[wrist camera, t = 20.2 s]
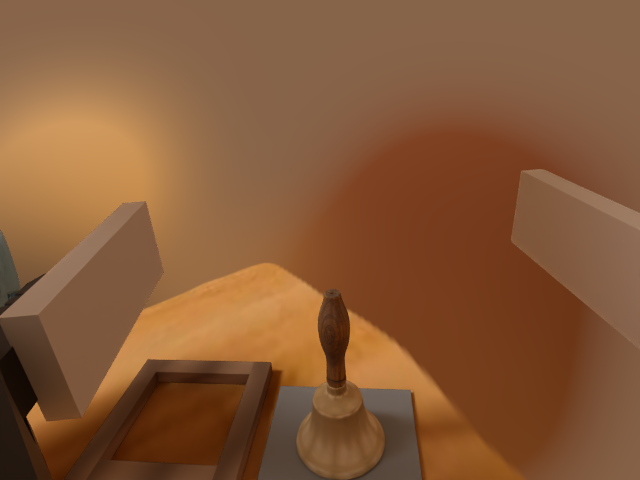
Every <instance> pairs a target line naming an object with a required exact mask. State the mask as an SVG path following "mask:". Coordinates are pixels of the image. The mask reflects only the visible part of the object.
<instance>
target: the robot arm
mask: <svg viewBox="0 0 640 480" xmlns="http://www.w3.org/2000/svg"><path fill="white" fill-rule="evenodd" d="M511 242H512V243H514V244H515V245H516V246H518V248H520V249H521V250H522V251H523V252H524V253H526V254H527V255H528V256H529V257H530V258H532V259H533V260H534V261H535V262H536V263H538V264H539V265H540V266H541V267H542V268H544V269H545V270H546V271H547V272H548V273H549V274H551V275H552V276H553V277H554V278H555V279H556V280H558V281H559V282H560V283H561V284H562V285H564V286H565V287H566V288H567V289H568V290H570V291H571V292H572V293H573V294H574V295H576V296H577V297H578V298H579V299H580V300H582V301H583V302H584V303H585V304H586V305H587V306H589V307H590V308H591V309H592V310H593V311H595V312H596V313H597V314H598V315H599V316H601V317H602V318H603V319H604V320H605V321H607V322H608V323H609V324H610V325H611V326H612V327H614V328H615V329H616V330H617V331H618V332H620V333H621V334H622V335H623V336H624V337H626V338H627V339H628V340H629V341H630V342H632V343H633V344H634V345H635V346H636V347H637V348H639V349H640V213H638V212H636V211H634V210H632V209H629V208H627V207H625V206H623V205H620V204H618V203H616V202H614V201H612V200H610V199H607V198H605V197H603V196H601V195H598V194H596V193H594V192H592V191H590V190H587V189H585V188H583V187H581V186H579V185H576V184H574V183H572V182H570V181H567V180H565V179H563V178H561V177H559V176H556V175H554V174H552V173H550V172H547V171H545V170H543V169H537V170H527V171H526V170H525V171H521V177H520V184H519V191H518V197H517V204H516V211H515V218H514V224H513V231H512V237H511ZM163 273H164V271H163V267H162V263H161V259H160V255H159V251H158V247H157V243H156V240H155V235H154V232H153V227H152V224H151V220H150V216H149V212H148V208H147V205H146V202H132V203H123V204H122V205H121V206H119V207H118V208H117V209H116V210H115V211H114V212H113V213H112V214H111V215H110V216H109V217H108V218H106V219H105V220H104V221H103V222H102V223H101V224H100V225H99V226H98V227H97V228H95V229H94V230H93V231H92V232H91V233H90V234H89V235H88V236H87V237H86V238H85V239H83V240H82V241H81V242H80V243H79V244H78V245H77V246H76V247H75V248H74V249H72V250H71V251H70V252H69V253H68V254H67V255H66V256H65V257H64V258H63V259H62V260H60V261H59V262H58V263H57V264H56V265H55V266H54V267H53V268H52V269H51V270H50V271H49V272H47V273H45V274H43V275H42V276H40V277H38V278H36V279H34V280H33V281H31V282H29V283H27V284H26V285H25V286H24V287H23V288H22V289H21V287H20V283H19V278H18V275H17V272H16V268H15V265H14V262H13V259H12V256H11V253H10V250H9V247H8V245H7V242H6V240H5V238H4V235H3V233H2V232H1V230H0V480H52V477H51V475H50V472H49V470H48V467H47V465H46V462H45V460H44V457H43V455H42V452H41V450H40V447H39V445H38V442H37V440H36V437H35V435H34V432H33V430H32V428H31V426H30V424H29V422H28V420H27V418H26V416H27V414H28V413H29V412H30V410H31V409H32V407H33V406H34V405H35V403H36V402H37V403H38V405H39V407H40V409H41V411H42V413H43V415H44V417H45V419H46V421H55V420H64V419H74V418H82V416H83V415H84V413H85V411H86V409H87V408H88V406H89V404H90V402H91V400H92V399H93V397H94V395H95V393H96V392H97V390H98V388H99V386H100V384H101V383H102V381H103V379H104V377H105V376H106V374H107V372H108V370H109V368H110V367H111V365H112V363H113V361H114V360H115V358H116V356H117V354H118V352H119V351H120V349H121V347H122V345H123V344H124V342H125V340H126V338H127V336H128V335H129V333H130V331H131V329H132V328H133V326H134V324H135V322H136V320H137V319H138V317H139V315H140V313H141V312H142V310H143V308H144V306H145V304H146V303H147V301H148V299H149V297H150V296H151V294H152V292H153V290H154V289H155V287H156V285H157V283H158V281H159V280H160V278H161V276H162V274H163Z"/></svg>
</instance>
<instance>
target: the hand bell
mask: <svg viewBox="0 0 640 480" xmlns="http://www.w3.org/2000/svg"><path fill="white" fill-rule="evenodd" d="M318 332H319V338H320V342H321V345H322V348H323V350H324V352H325V355H326V360H327V382H325V383H323V384H321V385H320V386H319V387H318V388H317V389H316V391H315V393H314V396H313V404H312V412H310V413H309V414H308V415H307V416H306V418H305V419H304V420H303V422H302V423H301V425H300V427H299V430H298V433H297V437H296V446H297V451H298V454H299V457H300V458H301V460H302V462H303V463H304V464H305V465H306V466H307V468H309V469H310V470H311V471H312V472H314V473H316V474H317V475H319V476H321V477H324V478H328V479H334V480H348V479H352V478H356V477H359V476H361V475H363V474H365V473H366V472H368V471H369V470H371V469H372V468H373V467H374V466H375V465H376V464H377V463H378V461H379V460H380V458H381V456H382V454H383V451H384V447H385V435H384V431H383V428H382V426H381V424H380V422H379V421H378V419H377V418H376V417H375V416H374V415H373V414H372V413H371V412H370V411H369V410H367V409H366V408H365V407H364V403H363V397H362V394H361V392H360V390H359V388H358V387H357V386H356V385H355V384H353V383H351V382H349V381H347V380H346V372H345V352H346V349H347V346H348V343H349V336H350V322H349V316H348V312H347V309H346V307H345V305H344V303H343V301H342V298H341V293H340V292H339V291H338V290H336V289H330V290H327V291H326V292H325V293H324V299H323V303H322V305H321V309H320V312H319V317H318Z"/></svg>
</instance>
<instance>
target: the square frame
mask: <svg viewBox="0 0 640 480" xmlns="http://www.w3.org/2000/svg"><path fill="white" fill-rule="evenodd" d="M271 376H272V366H271V362H238V361H194V360H150V359H148V360H147V361H146V363H145V364H144V366H143V367H142V368H141V370H140V371H139V373H138V374H137V376H136V377H135V378H134V380H133V381H132V383H131V384H130V386H129V387H128V389H127V390H126V391H125V393H124V394H123V396H122V397H121V399H120V400H119V401H118V403H117V404H116V406H115V407H114V409H113V410H112V411H111V413H110V414H109V416H108V417H107V419H106V420H105V421H104V423H103V424H102V426H101V427H100V429H99V430H98V431H97V433H96V434H95V436H94V437H93V439H92V440H91V441H90V443H89V444H88V446H87V447H86V449H85V450H84V451H83V453H82V454H81V456H80V457H79V459H78V460H77V461H76V463H75V464H74V466H73V467H72V469H71V470H70V472H69V473H68V474H67V476H66V477H65V479H64V480H242V477H243V473H244V470H245V466H246V463H247V459H248V456H249V452H250V449H251V445H252V442H253V438H254V435H255V431H256V428H257V424H258V421H259V417H260V414H261V410H262V407H263V404H264V400H265V397H266V393H267V390H268V386H269V383H270V379H271ZM158 382H181V383H215V384H246V386H245V389H244V392H243V394H242V397H241V400H240V403H239V406H238V409H237V411H236V414H235V417H234V420H233V423H232V425H231V428H230V431H229V434H228V437H227V439H226V442H225V445H224V448H223V451H222V454H221V456H220V459H219V462H218V465H217V466H213V465H194V464H176V463H157V462H139V461H120V460H111V458H112V457H113V455H114V454H115V452H116V450H117V449H118V447H119V446H120V444H121V442H122V441H123V439H124V437H125V436H126V434H127V433H128V431H129V429H130V428H131V426H132V425H133V423H134V421H135V420H136V418H137V416H138V415H139V413H140V412H141V410H142V408H143V407H144V405H145V404H146V402H147V400H148V399H149V397H150V395H151V394H152V392H153V391H154V389H155V387H156V386H157V384H158Z"/></svg>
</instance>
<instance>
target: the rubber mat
mask: <svg viewBox="0 0 640 480" xmlns="http://www.w3.org/2000/svg"><path fill="white" fill-rule="evenodd" d="M317 388H318V387H294V386H281V387H280V391H279V395H278V399H277V403H276V407H275V411H274V415H273V419H272V423H271V427H270V431H269V435H268V439H267V443H266V447H265V451H264V455H263V459H262V463H261V467H260V471H259V475H258V479H257V480H334V479H328V478H324V477H321V476H319V475H317V474H316V473H314V472H312V471H311V470H310V469H309V468H307V466H306V465H305V464H304V463H303V462H302V460H301V458H300V457H299V454H298V451H297V446H296V437H297V433H298V430H299V427H300V425H301V423H302V422H303V420H304V419H305V418H306V416H307V415H308V414H309V413H310V412H312V404H313V396H314V393H315V391H316V389H317ZM359 390H360V392H361V394H362V397H363V403H364V407H365V408H366V409H367V410H369V411H370V412H371V413H372V414H373V415H374V416H375V417H376V418H377V419H378V421H379V422H380V424H381V426H382V428H383V431H384V435H385V447H384V451H383V454H382V456H381V458H380V460H379V461H378V463H377V464H376V465H375V466H374V467H373V468H372V469H371V470H369V471H368V472H366V473H365V474H363V475H361V476H359V477H356V478H352V479H348V480H422V475H421V467H420V460H419V452H418V444H417V437H416V429H415V422H414V414H413V406H412V399H411V391H410V390H395V389H362V388H359Z"/></svg>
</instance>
